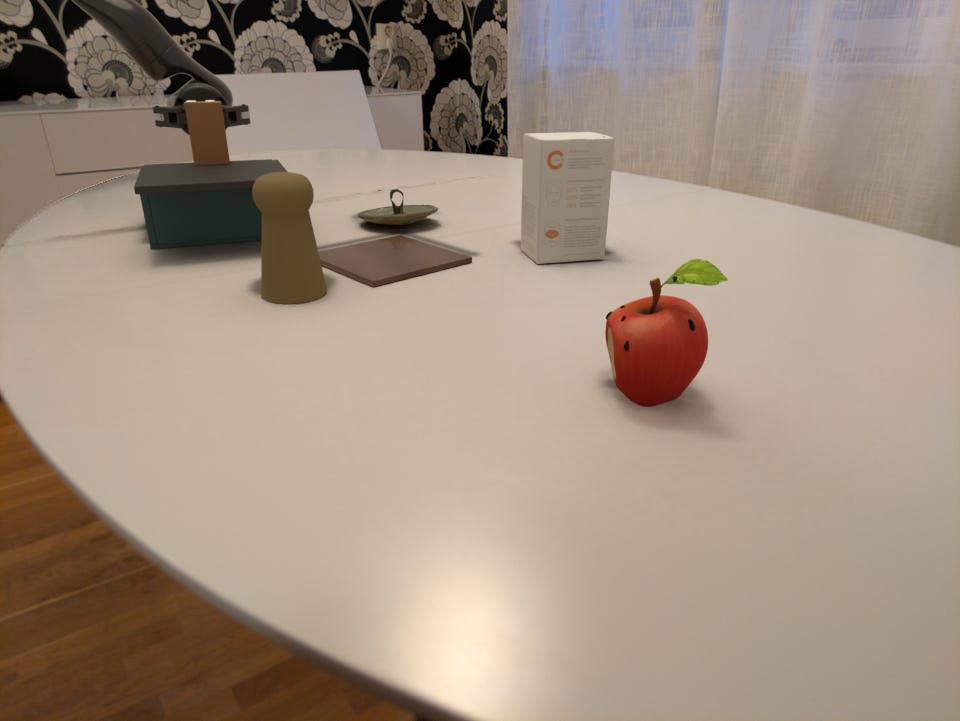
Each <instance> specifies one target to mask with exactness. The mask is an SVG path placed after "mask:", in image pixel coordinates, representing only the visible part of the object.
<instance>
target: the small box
mask: <svg viewBox="0 0 960 721" xmlns="http://www.w3.org/2000/svg"><path fill="white" fill-rule="evenodd" d="M522 139H523V140H522V141H523V142H522V145H523V146H522V171H521V172H522V178H521V213H520V214H521V216H520V251H521V252H522V253H523V254H525V255H526V256H527V257H528V258H529V259H530V260H532V261H533V262H534V263H535V264H537V265H542V264H554V263H555V264H556V263H557V264H558V263H569V262H583V261H599V260H605V256H606V244H607V234H608V221H609V211H610V210H609V209H610V196H611V183H612V173H613V160H614V149H615V148H614V146H615V138H614V137H612V136H610V135H607V134H603V133H599V132H594V131H571V132H566V131H565V132H532V133H531V132H529V133H528V132H527V133H526V132H525V133H523V138H522Z"/></svg>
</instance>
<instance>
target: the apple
mask: <svg viewBox="0 0 960 721" xmlns="http://www.w3.org/2000/svg"><path fill="white" fill-rule="evenodd" d="M728 281H729V279H728V277H726V276H725V275H724V273H723V272H722V271H721V270H720V269H719V268H718V267H717V266H716V265H714V264H713V263H712V262H711V261H709V260H708V259H705V260H704V259H703V260H702V258H693V259H691V260H688V261H687V262H685V263H683V264H681V265H680V266H679V267H678V268H676V270H675V271H674V272H673V273H672V274H671V275H670V276H669V277H668V278H667V280H665V281H664V282H663V283H661V279H660V277H655V278H652V280H651V279H650V280H649V287H650V289H651V295H650V296H645V297H642V298H638V299H636V300H632V301H630V302H627V303H625V304H622V305H620V306H619V307H617V308H615V309H614V310H612V311H611V310H610V311H609V312H608V313H607V314H606V316H605V320H606V322H605V331H604V334H605V335H604V336H605V343H606V348H607V353H608V356H609V362H610V365H611V373H612V377H613V381H614V384H615V386H616V388H617V389H618V390H619V391H620V393H621V394H622V395H623V396H624V397H625V398H627V400H629V401H630V402H631V403H632V404H635V405H637V406H640V407H644V408H653V407H657V406H660V405H664V404H665V403H669V402H673V401H675V400H677V399H678V398H680V397H681V396H682V395H683V393H684V392H686V389H687V388H688V387H689V386H690V384H691V383H692V382H693V380H694V379H695V378H696V377H697V375H698V374H699V372H700V371H701V369H702V367H703V365H704V364H705V360H706V357H707V354H708V349H709V334H708V333H709V332H708V328H707V325H706V321H705V319H704V317H703V315H702V314H701V312H700V311H699V309H698V308H697V307H696V306H695V305H694V304H693V303H691V302H690V301H688V300H686V299H684V298H681V297H678V296H673V295H665V294H663V295H661V294H662V288H663V287H664V285H685V284H690V285H701V286H709V287H711V286H712V287H713V286H718V285H719V284H720V283H723V282H728Z"/></svg>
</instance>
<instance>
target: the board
mask: <svg viewBox="0 0 960 721" xmlns="http://www.w3.org/2000/svg"><path fill="white" fill-rule="evenodd" d="M318 253H319V257H320V261H321V266H322V267H324V268H326V269H328V270H331V271H334V272H336V273H338V274H341V275H343V276H346V277H347V278H351V279H352V280H355V281H357V282H359V283H360V282H361V283H363V284H365V285H367V286H370V287H372V288H376V287H378V286H383V285H387V284H392V283H395V282H399V281H403V280H407V279H411V278H415V277H419V276H423V275H427V274H430V273H435V272H439V271H442V270H446V269H450V268H455V267H458V266H463V265H466V264H470V263H473V256H469V255H466V254H463V253H460V252H456V251H453V250H450V249H447V248H445V247H441V246H437V245H434V244H431V243H428V242H425V241H423V240H418V239H416V238H412V237H409V236H405V235H402V234H398V235H397V234H396V235H393V236H387V237H384V238H378V239H373V240H367V241H363V242H358V243H352V244H348V245H343V246H338V247H333V248H328V249H321V250H318Z"/></svg>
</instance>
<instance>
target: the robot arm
mask: <svg viewBox="0 0 960 721" xmlns="http://www.w3.org/2000/svg"><path fill="white" fill-rule="evenodd" d="M71 2H73V3H74V4H75V5H76V6H78V7H79V8H80V9H81V10H82V11H83V12H84V13H85V14H86V15H88V16H89V17H90V18H91V19H93V20H94V21H95V22H96V23H97V24H98V25H99V26H100V27H101V28H103V30H104V31H106V32H107V34H108V35H109V36H111V38H112V39H113V40H114V41H115V42H116V43H117V44H118V45H119V46H120V47H121V48H122V49H123V50H124V52H125V53H127V55H128V56H129V57H130V58H131V59H132V61H133V62H134V63H136V64H137V66H138V67H139V68H140V69H141V70H142V71H143V72H144V73H145V75H146V76H147V77H148V78H149V79H151V80H152V81H154V82H162V81H165V80H167V79H169V78H171V77H174V76H176V75H179V74H184V75H188V76H190V77H191V79H190V80H188V81H187V82H186V83H184V84H183V86H181V87H180V88H178V89H177V90H176V91H175V92H173V93H172V94H171V95H170V96H169V97H168V99H167V101H166V106H160V105H154V106H152V113H153V118H154V124H155V127H158V128H172V129H181V130H182V131H183V132H184V133H185V134H187V135H188V136H189V137H190V135H189V129H188V123H187V116H186V110H185V104H184V102H190V101H221V103H222V110H223V117H224V124H225V131H226V132H227V129H228V128H232V127H238V126H239V127H240V126H248V125H251V114H250V107H249V105H248V104H246V103H242V104H240V105H234V97H233V94H232V91H231V89H230V88H229V86H228V85H227V84H226V82H224V81H223V80H222V79H221V78H220V77H219V76H216V75H215V74H214V73H212V72H211V71H210V70H208V69H207V68H205V67H204V66H203V65H202V64H200V63H199V62H197V61H196V60H195V59H194V58H193V57H191V56H190V54H188V53H187V52H186V51H185V50H184V49H183V48H182V47H181V46H180V45H179V44H178V42H177V41H176V40H175V39H174V38H173V37H172V36H171V34H170V33H169V31H167V30H166V28H165V27H164V26H163V25H162V24H161V23H160V22H159V20H158V19H157V18H156V17H155V16H154V15H153V14H152V13H151V12H150V11H149V10H148V9H147V8H145V6H143V5H141V3H139V2H137V1H136V0H71Z"/></svg>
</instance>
